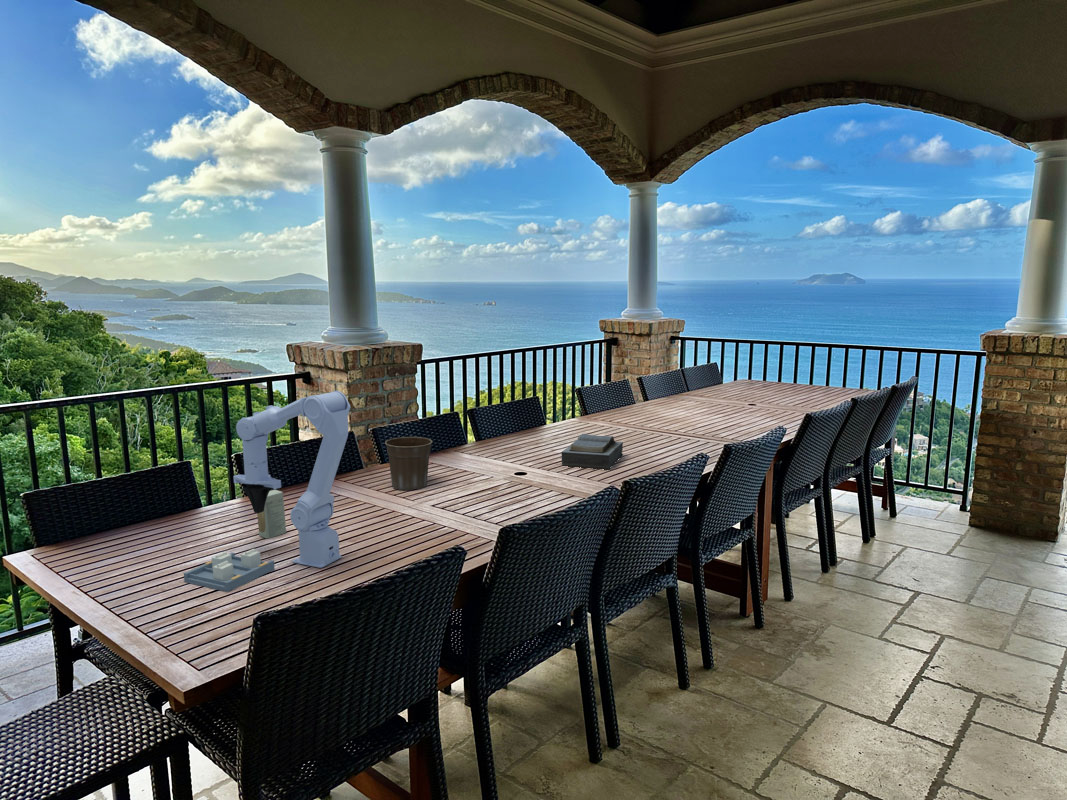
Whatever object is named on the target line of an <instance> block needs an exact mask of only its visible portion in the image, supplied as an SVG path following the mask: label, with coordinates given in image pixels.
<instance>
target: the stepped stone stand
mask: <svg viewBox="0 0 1067 800" xmlns="http://www.w3.org/2000/svg"><path fill="white" fill-rule="evenodd" d="M623 445H624V442H623V441H615V438H614V435H595V434H587V433H582V434H580V435H579V436H578V437H577V439H576V440H574V442H572V443H571V444H570V445H569V446H568V447H567V448H565V449H563V450H562V451H561V452H560V454H561V467H562V466H568V467H567V468H573V467H579V468H578V469H584V468H593V469H592V470H595V469H604V470H603V471H607V470H609V469H610V467H611V466H613V467H614V466H615V465H616V464H615V462H618V461H619V460H618V459H619V458H620V457H621V456H622V457H623V456H624V454H623V447H624V446H623ZM622 457H621V458H622ZM617 460H618V461H617ZM614 464H615V465H614ZM580 467H581V468H580ZM611 468H612V467H611ZM610 470H611V469H610ZM610 470H609V471H610Z"/></svg>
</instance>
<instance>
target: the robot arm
mask: <svg viewBox="0 0 1067 800" xmlns="http://www.w3.org/2000/svg"><path fill="white" fill-rule="evenodd" d="M351 407H352V406H351V404H350V402H349V400H348V399H347V397H346V395H345V394H344V393H343V392H341V391H339V390H333V391H330V392H326V393H321V394H316V395H309V396H305V397H301V398H299V399H297V400H295V401H293V402H291V403H289V404H287V405H285V406H284V407H281V406H277V405H275V406H274V405H267V406H266V407H265V410H262V411H261V412H260V411H255V412H254V413H252V416H248V417H242V418H241V419H239V420H238V421H237V423H236V427H235V430H236V434H237V436H238V437H239V438H240V439H241V441H242V442H241V443H242V454H243V467H244V468H243V469H244V474H236V475H233V484H242V485H243V484H244V485H246V486H245V487H243V492H244V493H245V495H246V496H247V498H248V500H249V502H250V504H251V507H252V510H253V512H254V513H255V514H257V513H260V512H263V511H264V507H265V502H266V499H267V496H268V493H269V491H271V490H277V489H280V488H282V482H281V481H282V480H281V479H276V478H275V477H271V474H269V467H268V466H269V465H268V463H269V462H268V453H267V452H268V450H267V449H268V448H267V442H268V441H269V435H270V433H273V432H274V431H276V430H279V429H283V428H284V427H286V425H287V424H288V421H289V420H290V419H293V418H295V417H298V416H302V417H306V418H307V420H308V421H309V422H310V423H311V424H312V425H313V427H314V428H315V429H316V430H317V432H318V433H320V434H322V436H323V437H322V440H321V443H320V447H319V449H318V453H317V456H316V460H315V462H314V466H313V469H312V472H311V476H310V479H309V482H308V485H307V487H306V488H307V489H306V491H305V492H304V493H303V494H302V495H300V497H299V498H298V499H297V503H296V504H295V505H294V507H293V508H292V509H291V510H290V520H291V521H290V522H291V523H292V525H293V526H294V527H295V529H296V530H297V531H298V533H297V534H298V546H299V547H298V549H299V557H297V558H294V559H293V560H292V561H291V562H292V563H295V564H299V565H304V566H309V567H313V568H320V569H322V568H324V567H326V566H328V565H329V564H332V563H333V562H335V561H337V560H339V559H341V558H342V555H340V541H339V539H340V538H339V533H338V532H337V530H335V529H334V528H331V527H330V526H329V524H330V519H331V518H332V517H333V516H334V511H335V510H334V502H335V497H334V496H333V495H332V493H331V490H332V487H333V483H334V480H335V477H336V475H337V472H338V468H339V465H340V461H341V458H342V455H343V452H344V449H345V446H346V443H347V440H348V436H349V421H348V420H349V417H348V416H349V413H350V411H351Z"/></svg>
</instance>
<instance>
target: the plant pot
mask: <svg viewBox="0 0 1067 800" xmlns="http://www.w3.org/2000/svg"><path fill="white" fill-rule="evenodd" d="M384 444H385V446H386V451H387V452H386V454H387V455H388V463H389V471H390V480H391V487H392V488H393V489H394V490H398V491H404V492H405V491H413V490H415V489H416V490H421V489H422V490H423V489H424V488H426V487H427V486H428V475H429V474H428V473H429V462H430V461H429V460H430V453H431V449H432V448H431V447H432V444H433V440H432V439H430V438H426V437H421V436H405V437H404V436H402V437H394V438H390V439H387V440H385V442H384Z"/></svg>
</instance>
